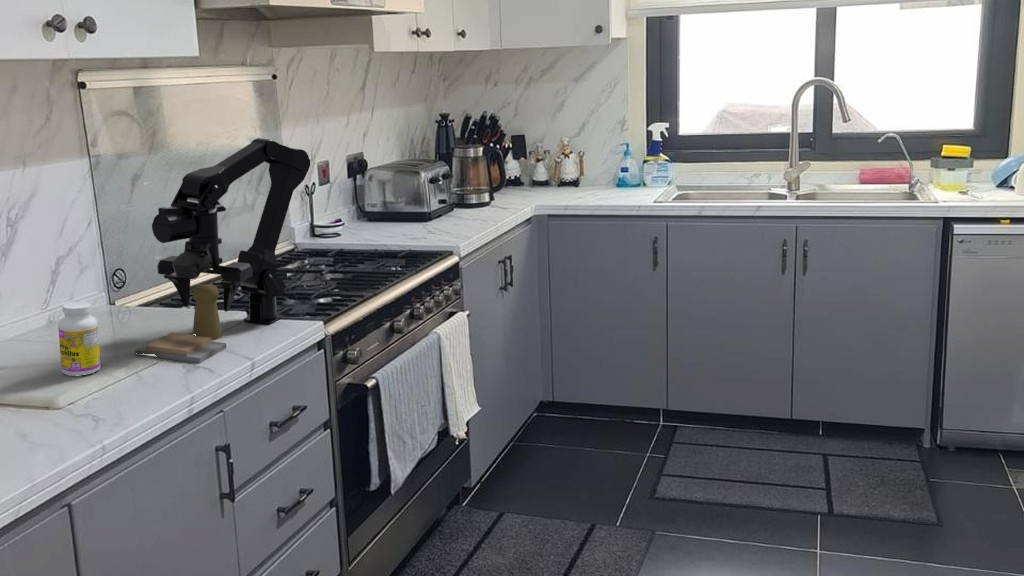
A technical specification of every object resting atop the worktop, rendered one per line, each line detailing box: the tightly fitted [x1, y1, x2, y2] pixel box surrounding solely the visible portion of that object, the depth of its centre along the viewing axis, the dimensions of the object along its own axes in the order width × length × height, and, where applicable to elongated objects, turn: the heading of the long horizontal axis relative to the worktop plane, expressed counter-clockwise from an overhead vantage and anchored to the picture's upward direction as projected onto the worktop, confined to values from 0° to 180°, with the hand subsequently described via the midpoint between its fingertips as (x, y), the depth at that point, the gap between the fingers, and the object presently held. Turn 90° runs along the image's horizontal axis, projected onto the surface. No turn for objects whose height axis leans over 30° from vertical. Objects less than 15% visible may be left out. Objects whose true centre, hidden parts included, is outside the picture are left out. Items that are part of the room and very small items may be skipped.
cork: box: [192, 283, 223, 341], centre depth 204 cm, size 6×6×11 cm
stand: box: [134, 332, 227, 364], centre depth 195 cm, size 10×14×2 cm
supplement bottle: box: [57, 301, 101, 377], centre depth 180 cm, size 7×7×13 cm
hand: (206, 308), depth 203 cm, fingers open, 9 cm apart
